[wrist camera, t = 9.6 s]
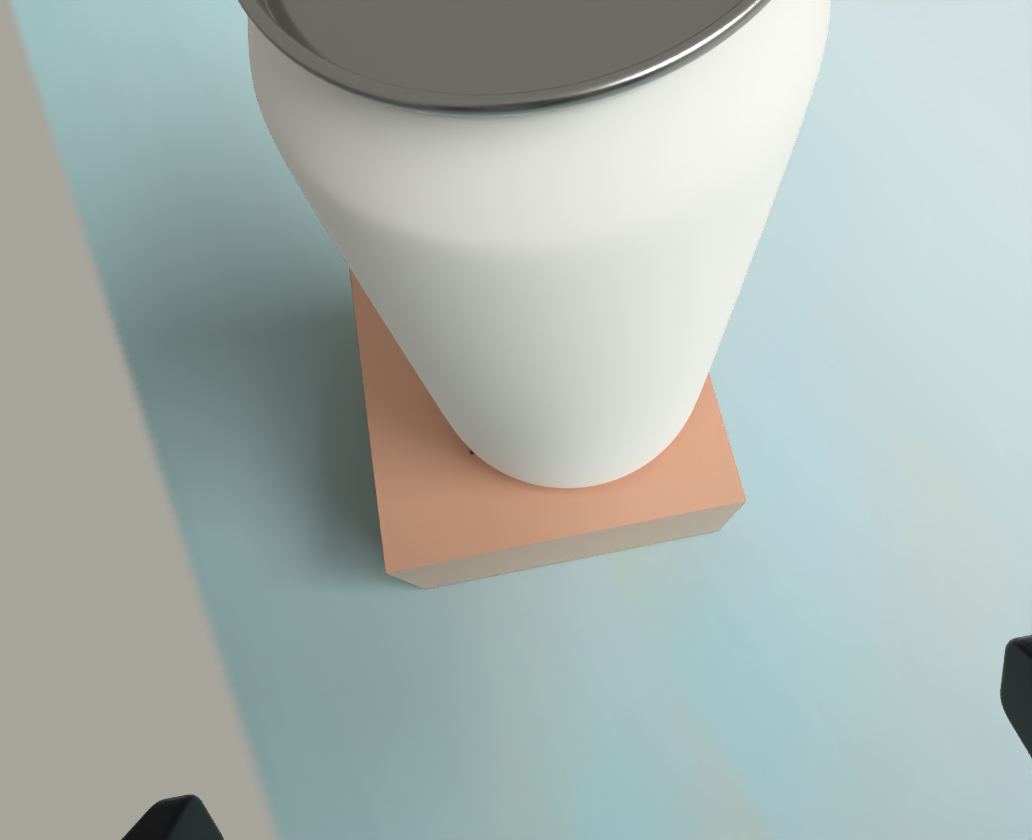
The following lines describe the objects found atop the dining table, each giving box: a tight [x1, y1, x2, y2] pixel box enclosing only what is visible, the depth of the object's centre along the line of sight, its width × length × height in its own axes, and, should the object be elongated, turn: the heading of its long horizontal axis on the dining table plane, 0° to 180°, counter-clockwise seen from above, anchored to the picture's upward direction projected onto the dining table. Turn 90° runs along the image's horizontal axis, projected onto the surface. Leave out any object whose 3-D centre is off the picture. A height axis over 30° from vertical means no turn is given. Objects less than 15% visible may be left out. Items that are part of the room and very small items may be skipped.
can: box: [238, 0, 831, 488], centre depth 12 cm, size 6×6×12 cm
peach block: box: [349, 267, 746, 589], centre depth 20 cm, size 8×8×4 cm
